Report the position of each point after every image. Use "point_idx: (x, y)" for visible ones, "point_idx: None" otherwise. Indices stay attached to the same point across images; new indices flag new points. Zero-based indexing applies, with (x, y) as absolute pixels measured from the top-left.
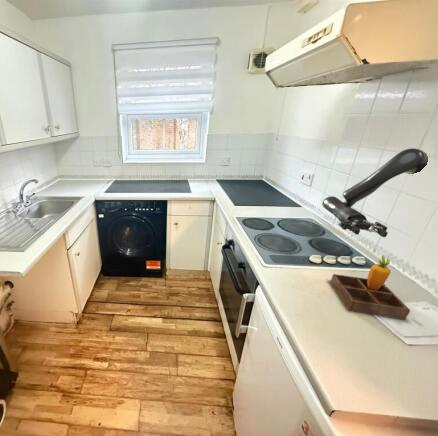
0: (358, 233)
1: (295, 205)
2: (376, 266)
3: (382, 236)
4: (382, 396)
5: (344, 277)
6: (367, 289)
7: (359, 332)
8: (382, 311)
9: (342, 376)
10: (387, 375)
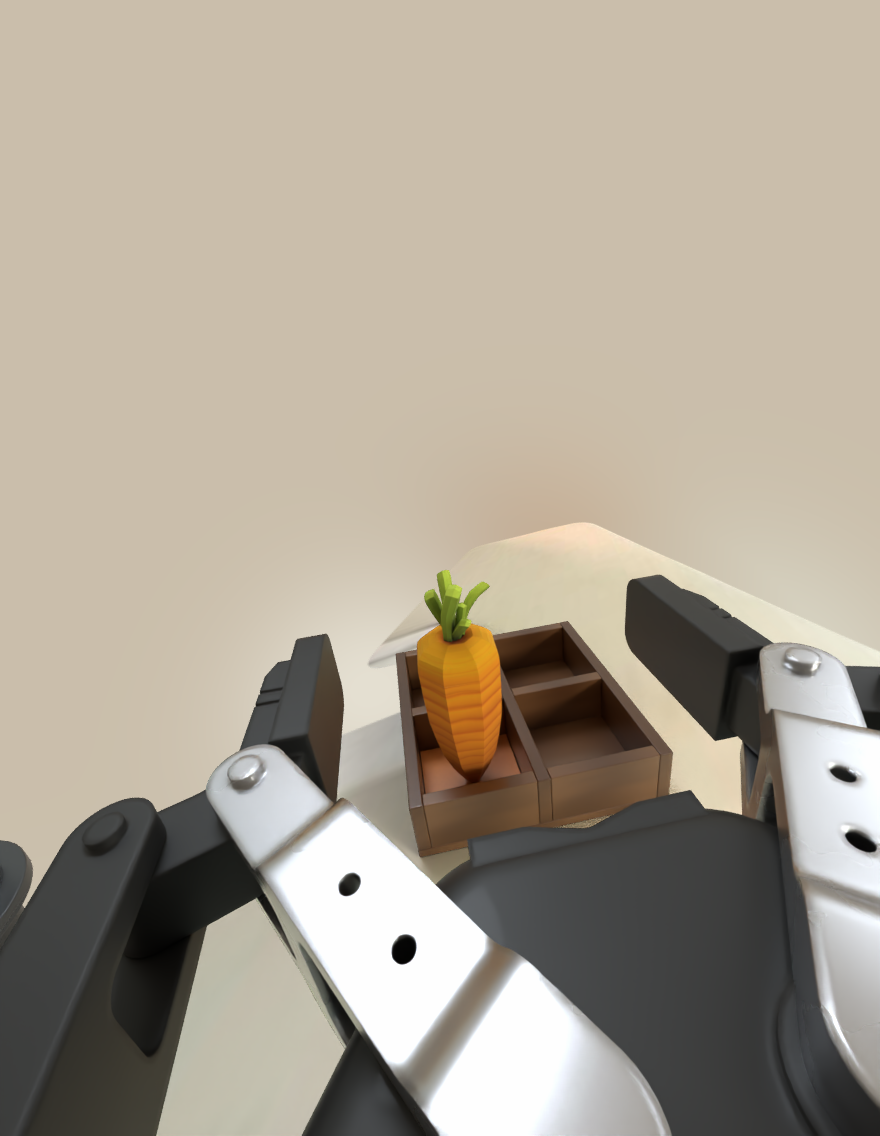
0: (631, 621)
1: None
2: (483, 630)
3: (341, 707)
4: (526, 543)
5: (607, 759)
6: (507, 697)
7: (544, 609)
8: None
9: (577, 542)
10: (510, 563)
